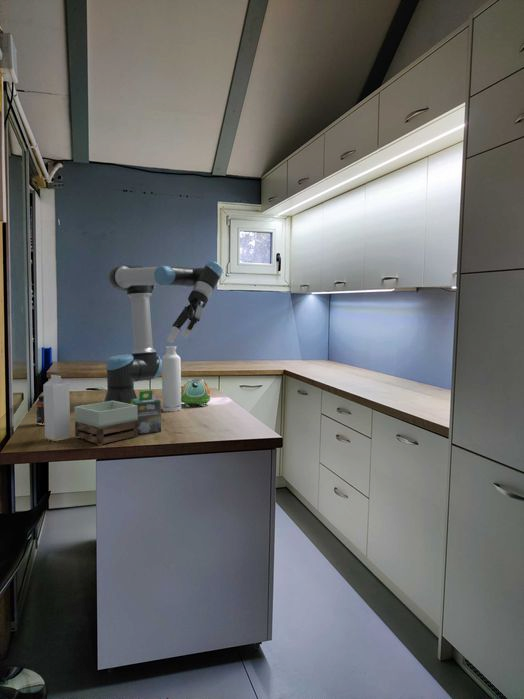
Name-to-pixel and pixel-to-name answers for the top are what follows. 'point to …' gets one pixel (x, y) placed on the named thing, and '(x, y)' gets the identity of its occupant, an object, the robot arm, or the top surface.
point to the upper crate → (106, 413)
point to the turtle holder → (195, 392)
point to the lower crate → (106, 432)
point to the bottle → (171, 380)
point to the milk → (56, 408)
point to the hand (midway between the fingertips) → (176, 339)
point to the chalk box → (148, 413)
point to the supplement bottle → (40, 409)
